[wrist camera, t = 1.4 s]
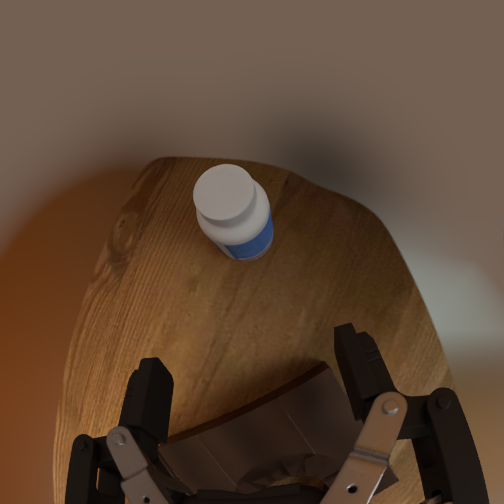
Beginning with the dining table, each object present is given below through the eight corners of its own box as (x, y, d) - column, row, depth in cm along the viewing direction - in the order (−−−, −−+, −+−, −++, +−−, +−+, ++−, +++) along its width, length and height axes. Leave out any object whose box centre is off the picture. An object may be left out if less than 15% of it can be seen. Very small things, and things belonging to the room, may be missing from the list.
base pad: (324, 360, 23) (329, 366, 20) (392, 472, 19) (401, 484, 16) (167, 437, 22) (156, 448, 20) (251, 532, 18) (247, 547, 15)
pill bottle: (282, 220, 26) (281, 169, 17) (260, 271, 25) (246, 245, 16) (231, 201, 27) (206, 146, 18) (208, 249, 26) (169, 214, 17)
